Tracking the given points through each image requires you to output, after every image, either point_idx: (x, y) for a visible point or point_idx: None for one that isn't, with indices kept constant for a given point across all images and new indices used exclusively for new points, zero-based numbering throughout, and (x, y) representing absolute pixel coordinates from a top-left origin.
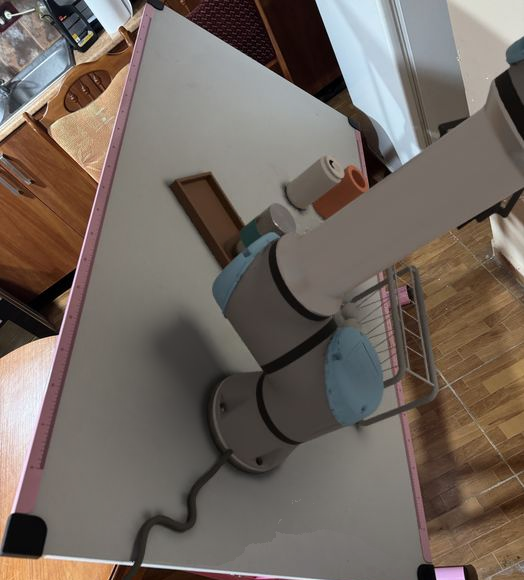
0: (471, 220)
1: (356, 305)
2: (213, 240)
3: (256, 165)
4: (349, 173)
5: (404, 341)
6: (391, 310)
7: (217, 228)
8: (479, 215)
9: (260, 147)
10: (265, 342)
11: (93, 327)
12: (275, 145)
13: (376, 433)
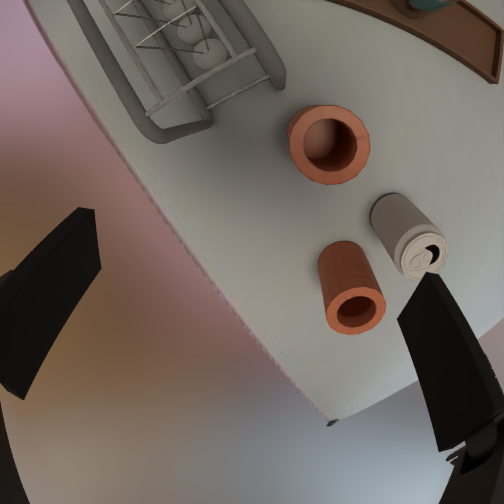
0: (37, 250)
1: (210, 54)
2: None
3: (457, 194)
4: (380, 297)
5: None
6: None
7: (445, 16)
8: (5, 280)
9: (458, 235)
10: None
11: None
12: (440, 270)
13: (90, 2)
